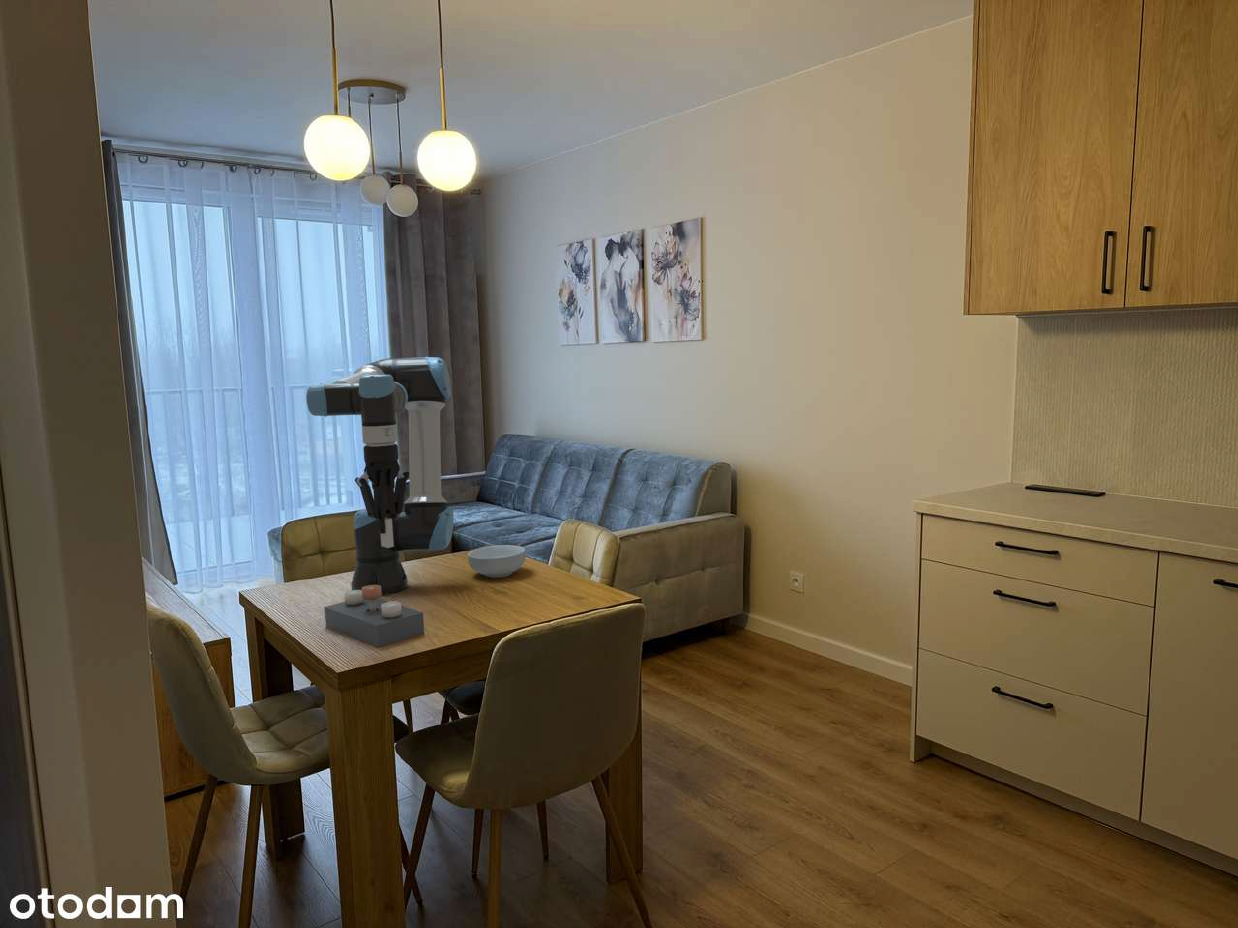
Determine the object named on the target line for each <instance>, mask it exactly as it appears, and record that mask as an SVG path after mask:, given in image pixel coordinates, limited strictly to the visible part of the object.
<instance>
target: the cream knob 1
mask: <svg viewBox="0 0 1238 928" xmlns="http://www.w3.org/2000/svg"><path fill="white" fill-rule="evenodd" d="M344 602H345V604H347V605H352V606H354V605H357V604H360V603H363V602H364V599H362V590H352V589H351V590H348V591H345V592H344Z"/></svg>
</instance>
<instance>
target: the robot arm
mask: <svg viewBox="0 0 1238 928" xmlns="http://www.w3.org/2000/svg"><path fill="white" fill-rule="evenodd" d="M451 384H452V383H451V378H450V374H449V370H448V367H447V364H446V362H445V360H444V359H443V358H441V357H437V356H434V357H433V356H422V357H421V356H420V357H419V356H418V357H414V356H413V357H389V358H383V359H379V360H375V361H373V362H369V363H367V364H365V365H363V366H360V367H359V368H357V369H356V370H355V371H354V372H353V373H352V374H350V375H348V376H345V377H344V378H341V379H339V380H337V381H334V382H332V383H331V382H330V383H323V382H322V383H317V384H315V383H313V384H311V385H309V387H308V389H307V391H306V406H307V409H308V411H309V413H310V414H311V415H312V416H315V417H316V416H317V417H326V418H327V417H331V416H332V417H335V416H360V417H361V419H360V420H361V435H362V443H363V444H364V446H363V461H364V463H365V464H364V470H363V474H361V475H360V476H359V477H356V478H355V479H354V482H355V483H356V485H357V486H358V487H359V489H360V493H361V497H362V500H363V503H364V507H365V508H362V509H360V510H357V511H356V513H355V514H354V515H353V532H354V544H355V545H354V546H355V559H356V565H355V569H354V571H353V577H352V581H351V590H362V587H364V586H367V585H380V586H381V592H382V596H384V595H390V594H394V593H398V592H402V591H403V590H405V589H407V588H408V586H409V584H408V583H409V582H408V580H409V579H408V576H407V574H406V571H405V569H404V567H403V563H402V561H401V557H400V552H416V551H418V552H421V551H429V552H433V551H439V550H445V549H446V548H447V547H448V546H449V544H450V543H451V539H452V535H453V530H454V528H453V527H454V520H455V519H454V510H453V508H452V507H448V501H447V500H446V499H445V497H444V496H442V462H441V461H442V457H441V455H442V454H441V449H442V448H441V411H442V409H443V408H444V407H445V406H446V400H447V399H450V398H451V396H452V386H451ZM404 408H405V409H406V410H407V411H408V454H409V456H408V458H409V459H408V461H409V463H408V464H409V465H408V466H409V467H408V468H409V469H408V470H409V471H407V470H403V469H402V468H401V466H400V464H399V458H400V457H399V445H397V443H396V442H398V427H397V413H399V412H401V411H402V410H403V409H404ZM408 479H409V497H408V498H407V499H406V500H405V491H406V485H407V482H408ZM370 482H371V486H370V484H369V483H370ZM372 491H373V492H372ZM403 507H404V509H403Z"/></svg>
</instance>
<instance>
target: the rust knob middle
mask: <svg viewBox="0 0 1238 928" xmlns="http://www.w3.org/2000/svg"><path fill="white" fill-rule="evenodd" d="M382 596H383V595H382V592H381V586H380V585H367V586H364V587H362V599H364V600H369V611H370V612H372V611H376V599H378V598H379V599H381V598H383V597H382Z"/></svg>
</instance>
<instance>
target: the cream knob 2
mask: <svg viewBox="0 0 1238 928" xmlns="http://www.w3.org/2000/svg"><path fill="white" fill-rule="evenodd" d="M401 606H402V602H400V601H396V600H395V601H388V602H386V603H383V604H382V605H381V610H382V616H383V617H388V618H393V617H396V616H399V615H401V614H402V609H401Z"/></svg>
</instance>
